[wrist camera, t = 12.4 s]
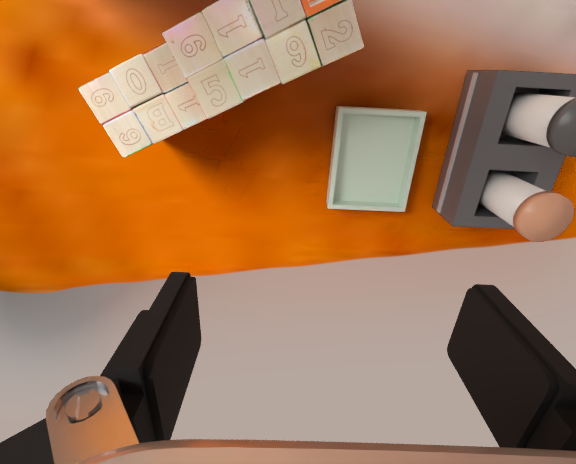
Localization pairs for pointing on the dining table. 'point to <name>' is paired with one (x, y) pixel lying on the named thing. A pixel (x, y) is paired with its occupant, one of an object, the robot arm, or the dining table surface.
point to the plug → (526, 206)
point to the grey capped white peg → (543, 121)
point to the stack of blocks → (218, 65)
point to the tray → (373, 157)
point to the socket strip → (494, 144)
